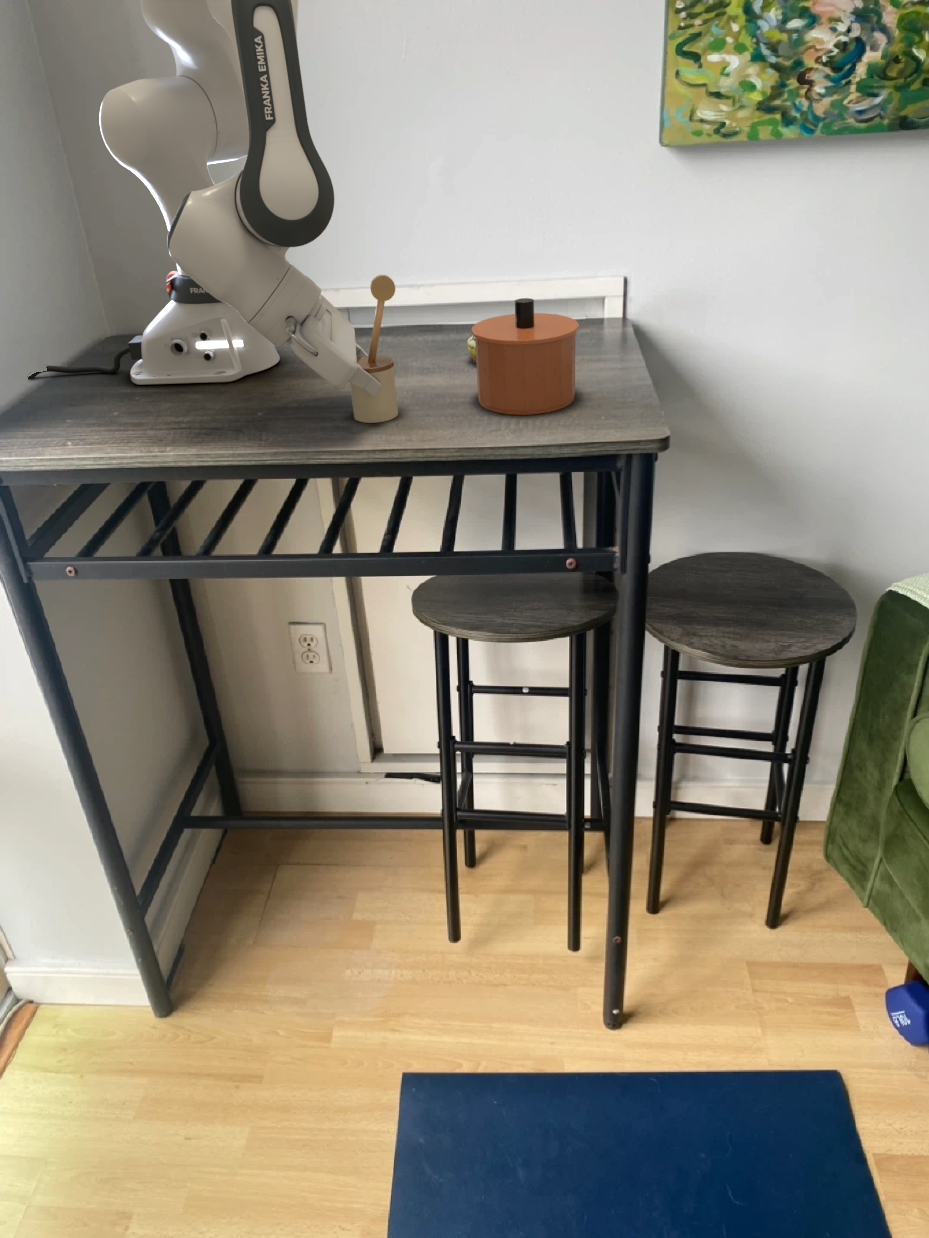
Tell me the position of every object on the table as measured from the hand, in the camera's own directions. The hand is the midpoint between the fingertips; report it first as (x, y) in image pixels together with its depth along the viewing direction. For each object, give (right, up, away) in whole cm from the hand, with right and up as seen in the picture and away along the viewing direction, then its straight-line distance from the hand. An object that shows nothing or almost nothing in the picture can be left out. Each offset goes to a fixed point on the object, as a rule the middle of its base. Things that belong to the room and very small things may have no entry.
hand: (377, 381), depth 120 cm
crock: (0, -4, +2) cm, 4 cm away
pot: (+19, -1, +5) cm, 20 cm away
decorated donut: (+17, +8, +21) cm, 28 cm away
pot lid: (+19, +7, 0) cm, 20 cm away
